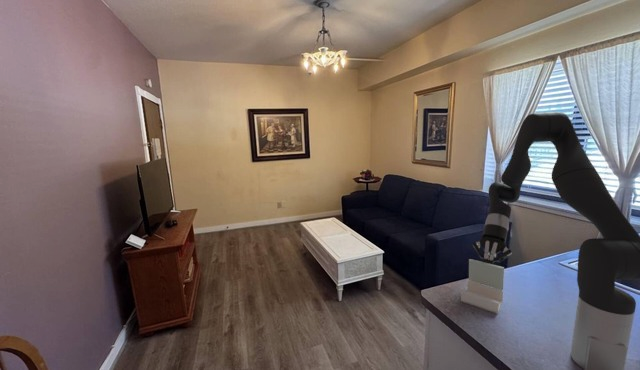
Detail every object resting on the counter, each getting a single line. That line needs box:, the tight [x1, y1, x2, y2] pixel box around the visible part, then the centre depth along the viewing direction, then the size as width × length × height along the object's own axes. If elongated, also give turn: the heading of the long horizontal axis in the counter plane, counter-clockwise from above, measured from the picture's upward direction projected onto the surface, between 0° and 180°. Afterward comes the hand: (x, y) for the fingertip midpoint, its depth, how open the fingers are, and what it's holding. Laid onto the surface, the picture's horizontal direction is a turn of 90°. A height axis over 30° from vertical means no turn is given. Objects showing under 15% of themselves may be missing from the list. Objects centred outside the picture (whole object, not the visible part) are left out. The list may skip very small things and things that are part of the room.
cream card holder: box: [460, 280, 504, 315], centre depth 92 cm, size 11×9×4 cm
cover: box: [468, 258, 505, 291], centre depth 94 cm, size 11×9×1 cm
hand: (486, 270), depth 94 cm, fingers closed
